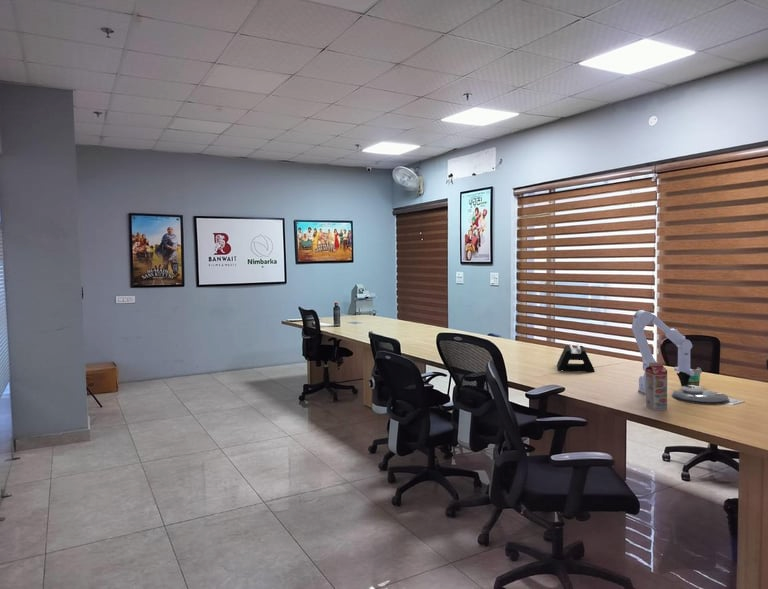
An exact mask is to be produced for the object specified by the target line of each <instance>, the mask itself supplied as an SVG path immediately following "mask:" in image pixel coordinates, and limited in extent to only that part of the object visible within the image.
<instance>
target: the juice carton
mask: <svg viewBox="0 0 768 589" xmlns="http://www.w3.org/2000/svg"><path fill="white" fill-rule="evenodd" d="M645 407H646V408H647V407H648V409H649V408H651V409H650V410H652V411H665V410H666V411H667V410H668V369H666V367H665V366H664V362H663V361H659V362H657V361H656V362H655V363H649V367H647V368H646V394H645Z"/></svg>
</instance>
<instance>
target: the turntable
mask: <svg viewBox="0 0 768 589" xmlns="http://www.w3.org/2000/svg"><path fill="white" fill-rule="evenodd" d="M672 394H673V396H674V397H676V398H679V399H682V400H687V401H693V402H702V403H720V402H726V401H728V399H729V396H728V395H727V394H725V393H722V392H719V391H714V390H706V389H703V393H701V394H691V393H685V392H683V388H682V389H676V390H673V391H672Z"/></svg>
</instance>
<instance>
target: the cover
mask: <svg viewBox="0 0 768 589" xmlns="http://www.w3.org/2000/svg"><path fill="white" fill-rule="evenodd" d="M703 388H704V387H702V386H700V385H699V386H695V385H684V386H683V387H682V389H683V392H685V393H691V394H701V393H703V390H704V389H703Z"/></svg>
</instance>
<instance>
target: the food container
mask: <svg viewBox="0 0 768 589" xmlns="http://www.w3.org/2000/svg"><path fill="white" fill-rule="evenodd" d="M691 369H692V371H693V372H694V376H691V377H690V379H689V381H688V384H687V385H695V386H700V382H701V381H700V380H701V374H702V373H703V372H702V369H701V367H696V368H695V369H694V368H691Z"/></svg>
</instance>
